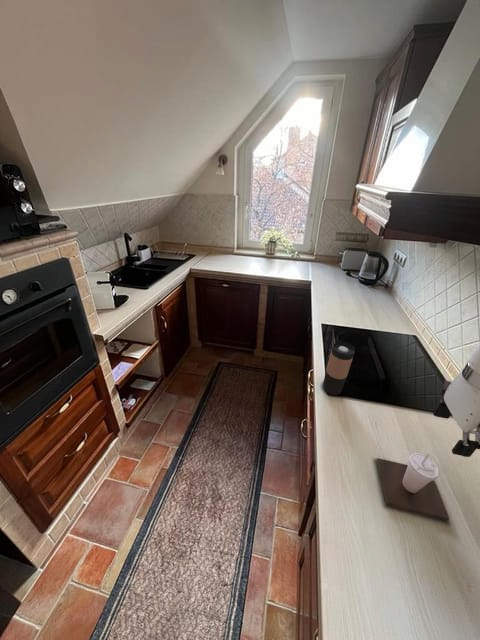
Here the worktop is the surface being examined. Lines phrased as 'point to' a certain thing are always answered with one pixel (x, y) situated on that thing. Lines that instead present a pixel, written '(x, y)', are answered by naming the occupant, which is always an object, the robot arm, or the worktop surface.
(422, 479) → the smoothie
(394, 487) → the walnut board
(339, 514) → the worktop surface
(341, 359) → the travel mug
